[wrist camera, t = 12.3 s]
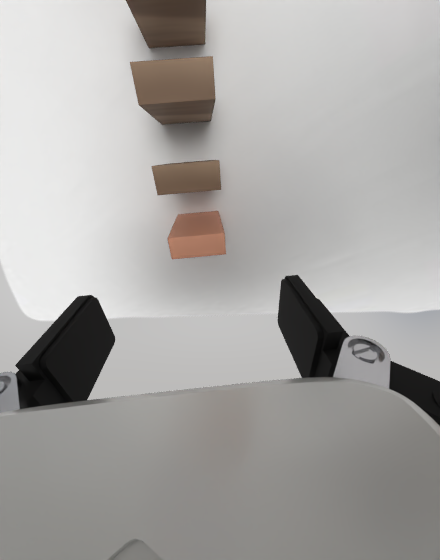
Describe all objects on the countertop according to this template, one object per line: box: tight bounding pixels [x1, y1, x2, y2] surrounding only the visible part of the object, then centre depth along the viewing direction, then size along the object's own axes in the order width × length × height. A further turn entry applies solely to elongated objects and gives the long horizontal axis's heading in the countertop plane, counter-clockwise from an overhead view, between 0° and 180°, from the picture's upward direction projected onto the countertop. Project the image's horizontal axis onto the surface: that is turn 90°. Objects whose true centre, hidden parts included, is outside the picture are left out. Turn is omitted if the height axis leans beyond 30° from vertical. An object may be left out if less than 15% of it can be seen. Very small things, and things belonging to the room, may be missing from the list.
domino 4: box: [152, 160, 221, 195], centre depth 20 cm, size 2×5×9 cm, turn 94°
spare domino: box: [168, 211, 226, 259], centre depth 23 cm, size 2×5×9 cm, turn 94°
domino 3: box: [130, 56, 215, 125], centre depth 17 cm, size 2×5×9 cm, turn 94°
